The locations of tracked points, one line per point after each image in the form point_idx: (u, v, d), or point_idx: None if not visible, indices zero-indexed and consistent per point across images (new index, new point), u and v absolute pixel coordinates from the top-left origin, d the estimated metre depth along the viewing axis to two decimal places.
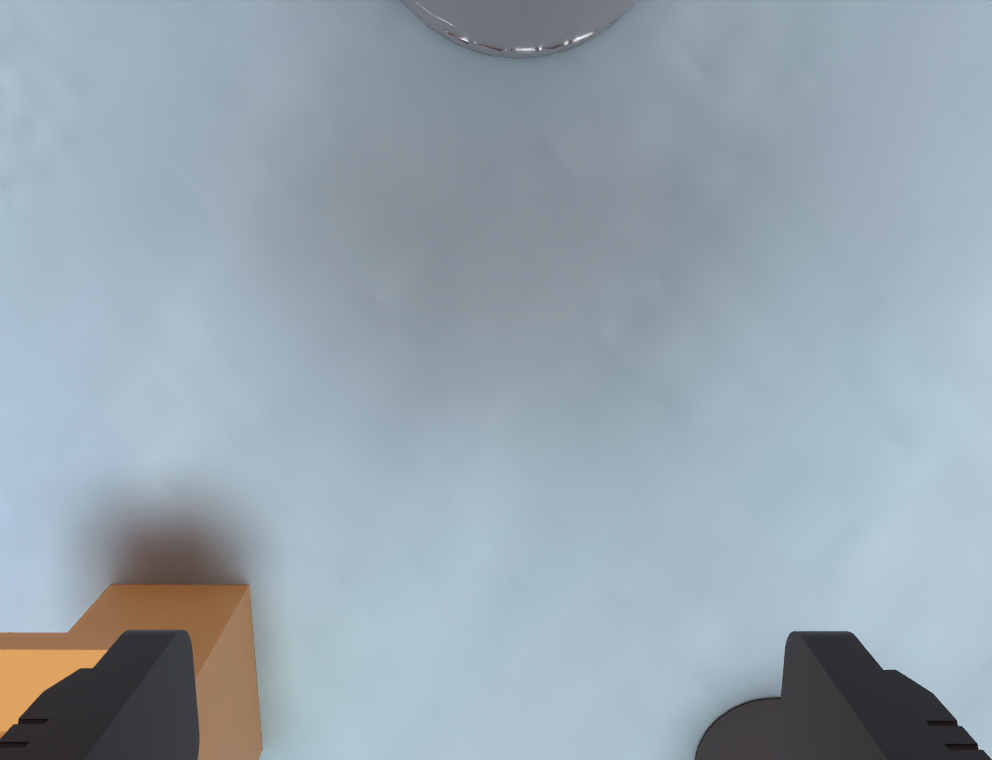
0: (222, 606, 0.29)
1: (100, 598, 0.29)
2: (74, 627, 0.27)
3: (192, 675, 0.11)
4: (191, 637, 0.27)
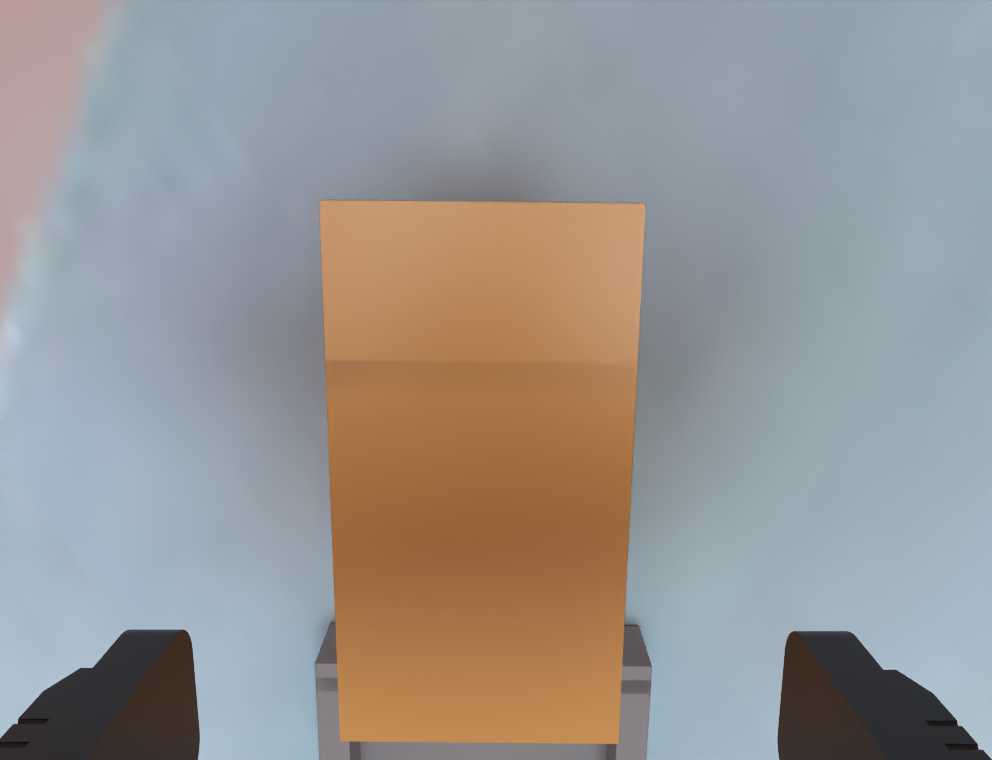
0: None
1: None
2: None
3: (192, 675, 0.11)
4: None
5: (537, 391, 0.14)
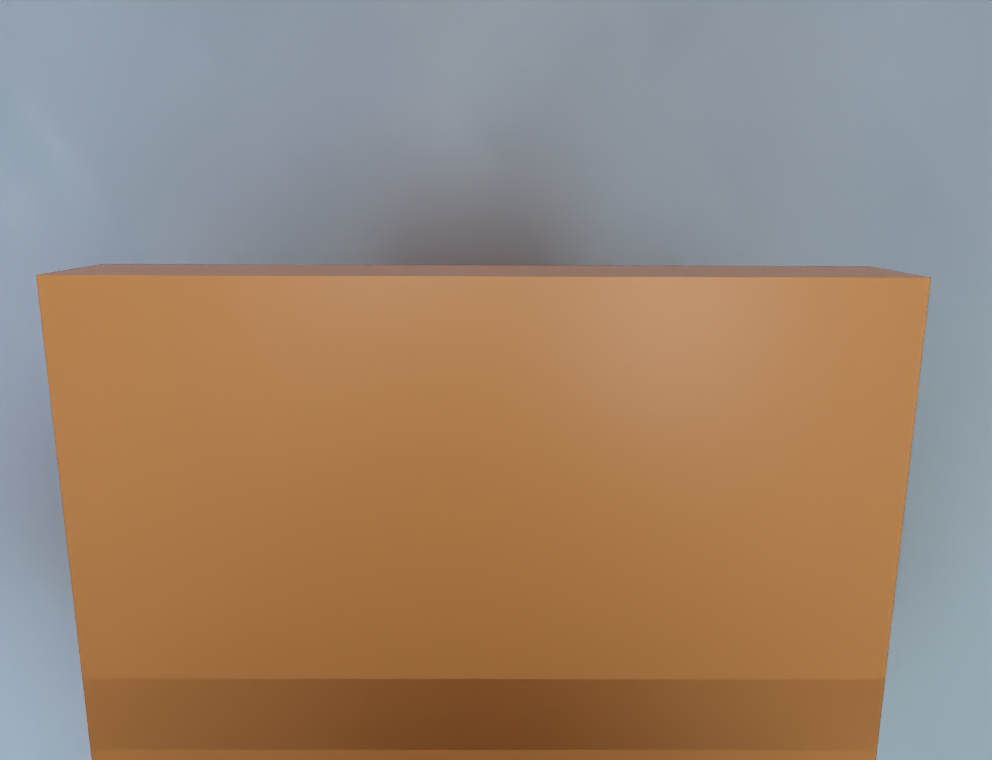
0: None
1: None
2: None
3: None
4: None
5: (626, 738, 0.05)
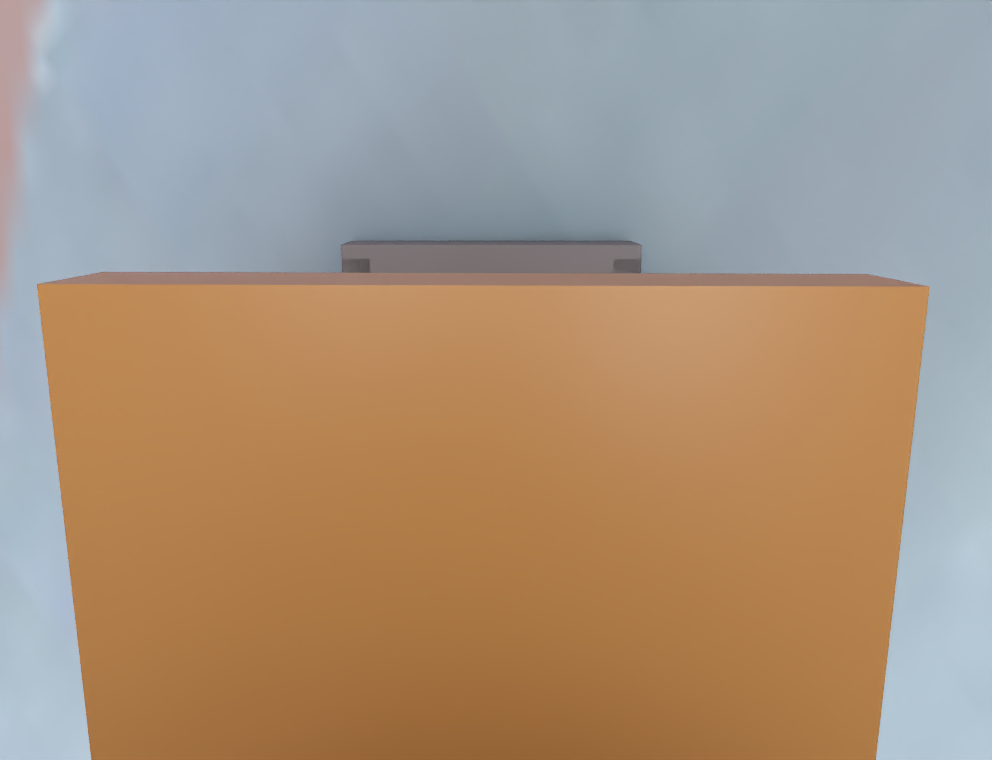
0: None
1: None
2: None
3: None
4: None
5: (626, 746, 0.05)
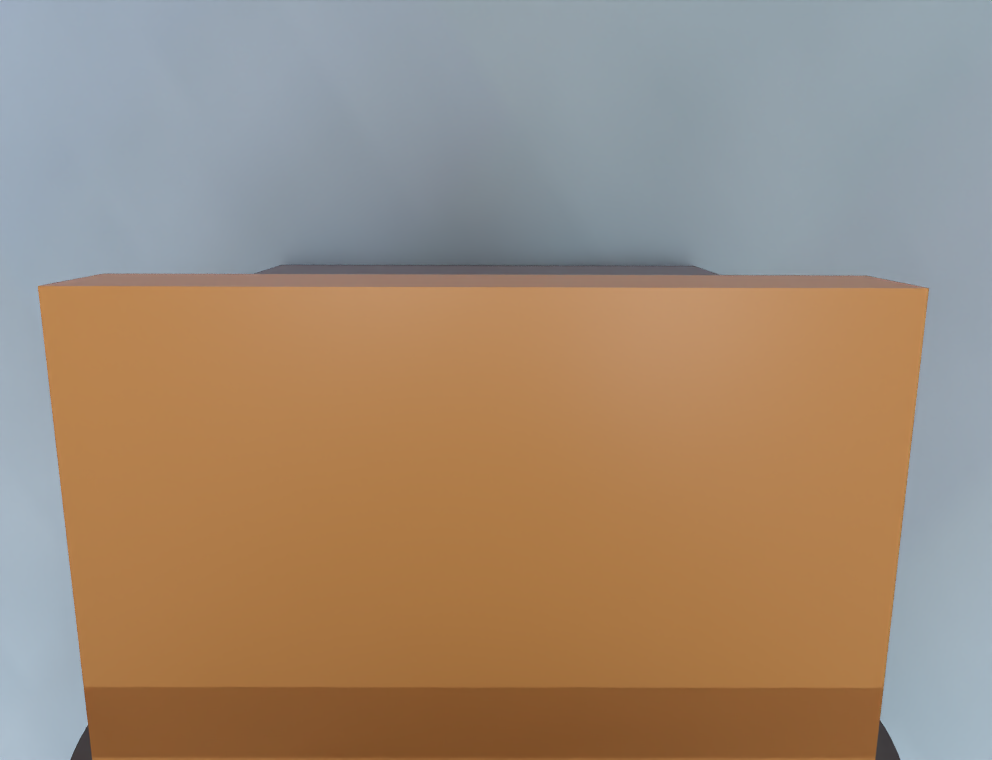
0: None
1: None
2: None
3: None
4: None
5: (626, 746, 0.05)
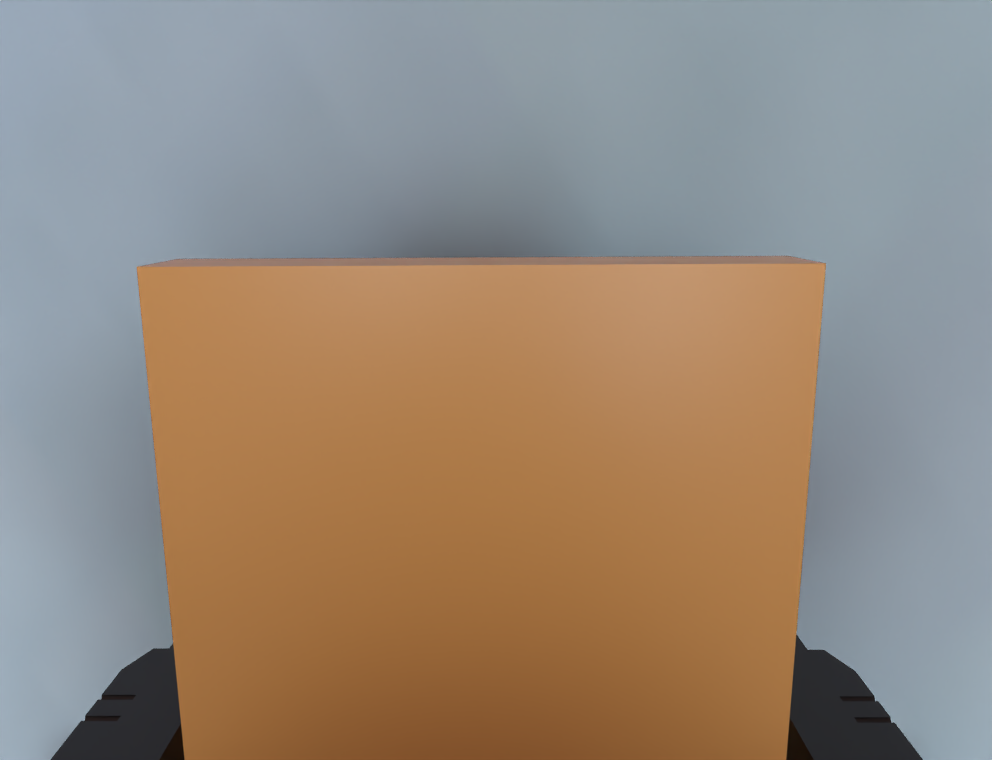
0: None
1: None
2: None
3: None
4: None
5: (597, 633, 0.07)
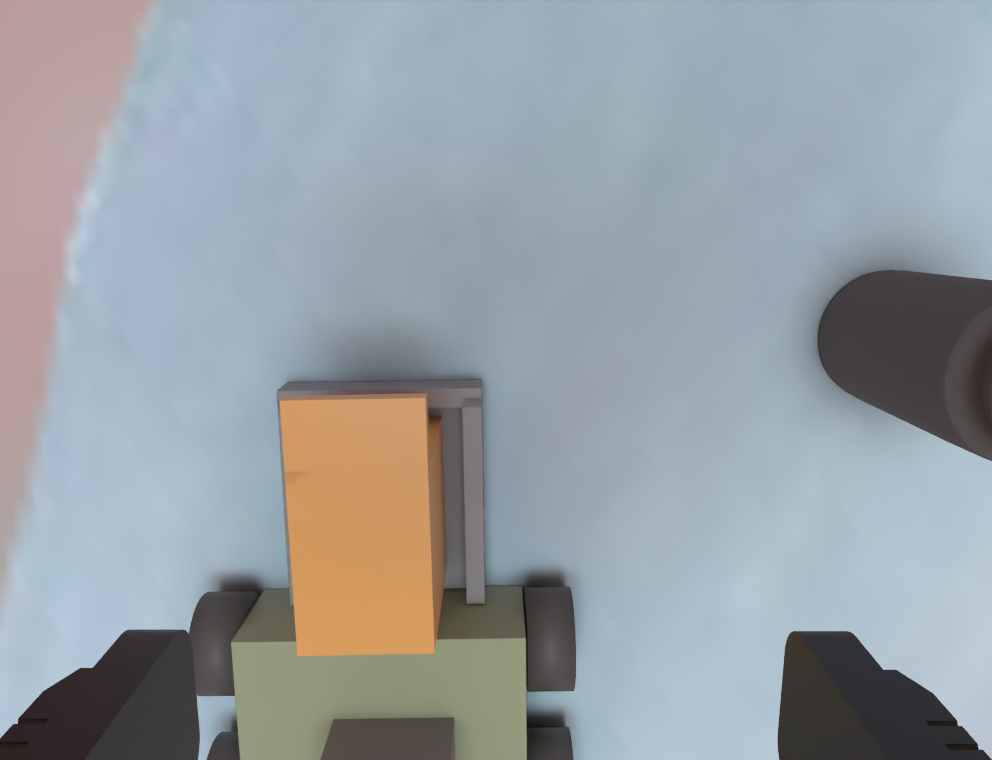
0: (428, 424, 0.35)
1: None
2: None
3: (192, 675, 0.11)
4: None
5: (383, 481, 0.29)
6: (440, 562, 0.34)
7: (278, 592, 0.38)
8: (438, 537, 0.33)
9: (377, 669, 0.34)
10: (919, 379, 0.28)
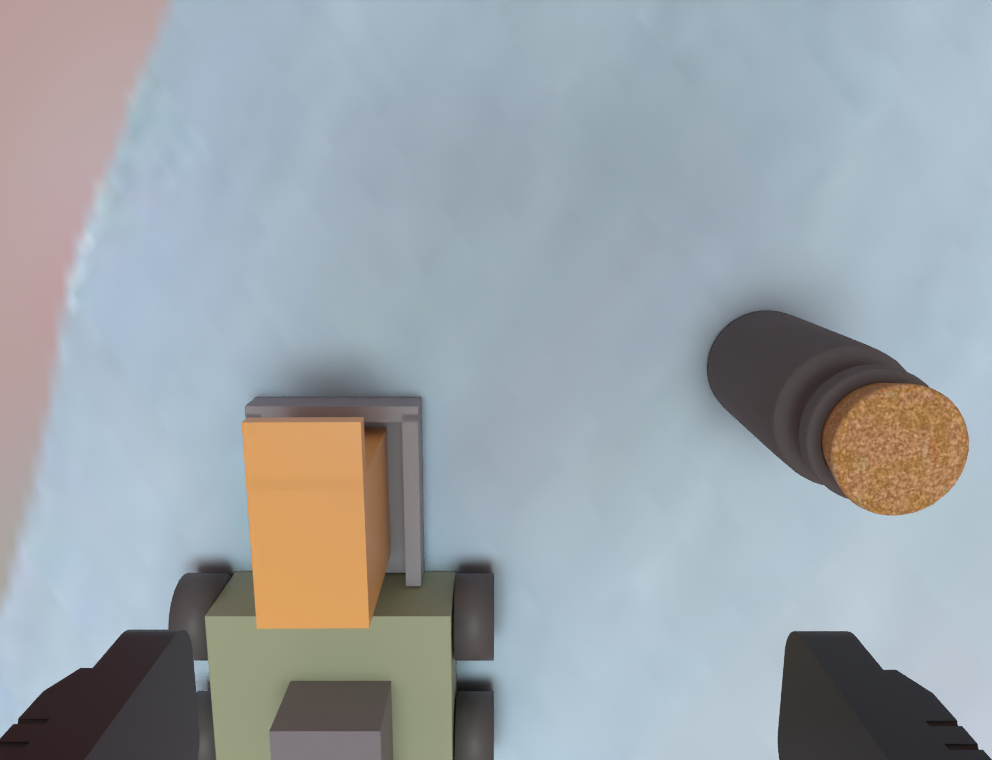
0: (372, 436, 0.42)
1: None
2: None
3: (192, 675, 0.11)
4: None
5: (327, 489, 0.36)
6: (380, 552, 0.41)
7: (248, 574, 0.45)
8: (378, 532, 0.40)
9: (327, 640, 0.41)
10: (760, 413, 0.34)
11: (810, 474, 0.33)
